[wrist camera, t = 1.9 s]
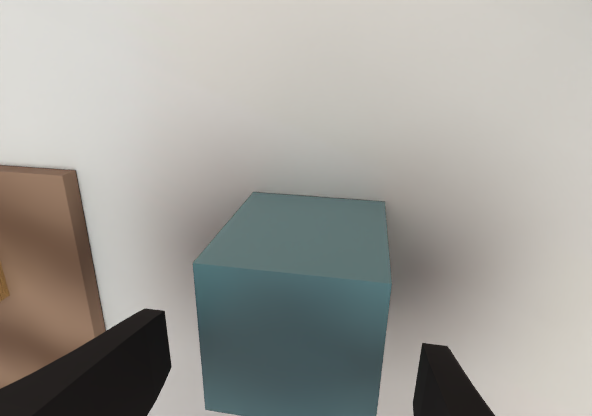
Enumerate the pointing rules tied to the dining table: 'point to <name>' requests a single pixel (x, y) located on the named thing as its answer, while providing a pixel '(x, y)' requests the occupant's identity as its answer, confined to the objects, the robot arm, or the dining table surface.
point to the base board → (44, 271)
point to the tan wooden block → (3, 285)
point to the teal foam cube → (295, 307)
